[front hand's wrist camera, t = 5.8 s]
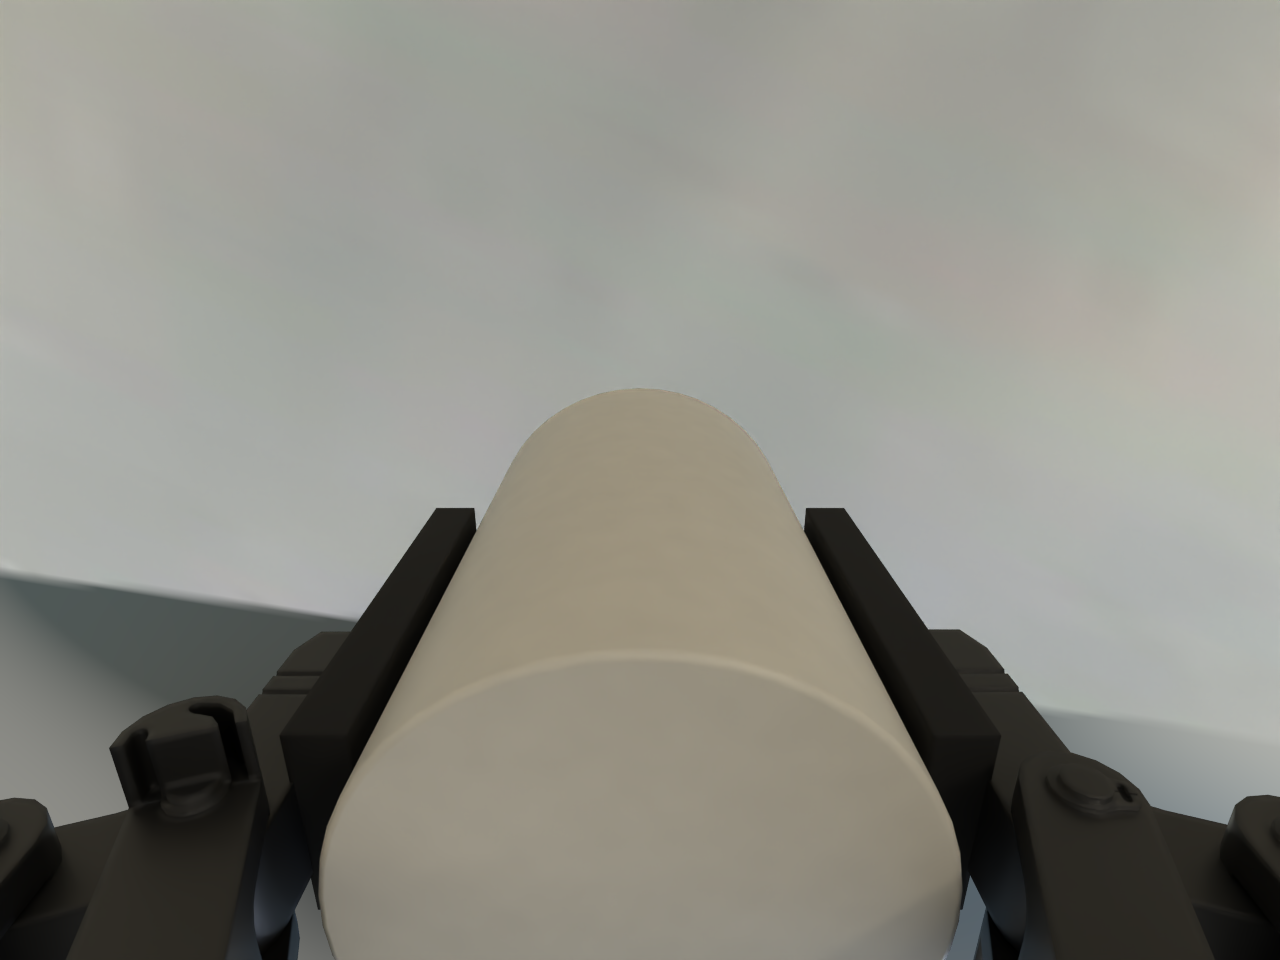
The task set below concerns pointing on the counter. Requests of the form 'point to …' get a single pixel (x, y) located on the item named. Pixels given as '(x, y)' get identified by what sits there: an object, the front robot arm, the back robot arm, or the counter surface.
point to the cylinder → (640, 730)
